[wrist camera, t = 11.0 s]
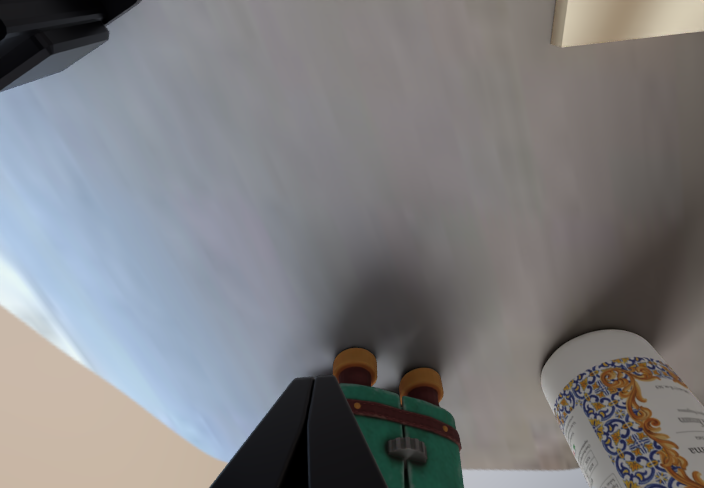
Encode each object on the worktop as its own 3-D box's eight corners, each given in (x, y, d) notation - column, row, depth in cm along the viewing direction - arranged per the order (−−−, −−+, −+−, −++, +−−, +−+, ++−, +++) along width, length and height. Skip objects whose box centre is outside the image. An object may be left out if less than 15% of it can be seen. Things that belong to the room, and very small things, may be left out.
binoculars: (255, 603, 22) (325, 536, 17) (284, 414, 31) (337, 327, 25) (410, 625, 24) (519, 571, 19) (397, 442, 33) (469, 367, 27)
